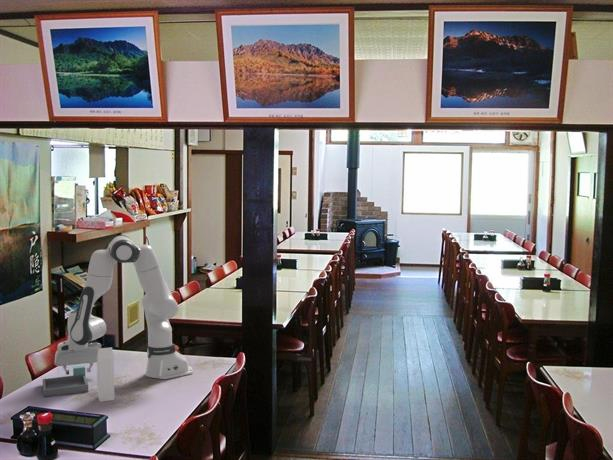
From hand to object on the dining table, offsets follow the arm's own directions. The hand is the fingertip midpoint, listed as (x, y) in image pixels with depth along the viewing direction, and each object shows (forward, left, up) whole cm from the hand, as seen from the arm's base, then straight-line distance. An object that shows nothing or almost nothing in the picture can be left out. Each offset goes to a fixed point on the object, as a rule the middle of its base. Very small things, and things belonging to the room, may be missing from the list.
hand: (78, 373), depth 287 cm
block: (-1, -1, -3) cm, 3 cm away
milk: (-9, +32, -3) cm, 34 cm away
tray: (+6, +12, -3) cm, 14 cm away
